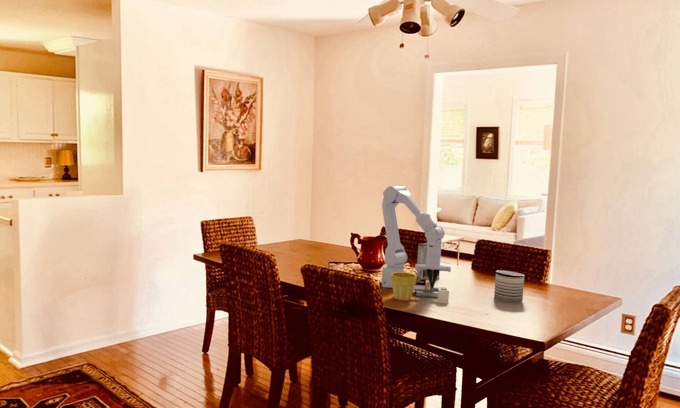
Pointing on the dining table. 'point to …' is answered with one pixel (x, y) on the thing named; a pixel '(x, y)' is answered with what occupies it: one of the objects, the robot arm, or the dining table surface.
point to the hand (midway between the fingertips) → (431, 287)
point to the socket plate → (428, 293)
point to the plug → (443, 295)
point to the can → (509, 287)
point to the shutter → (422, 287)
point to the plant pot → (403, 285)
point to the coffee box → (423, 261)
